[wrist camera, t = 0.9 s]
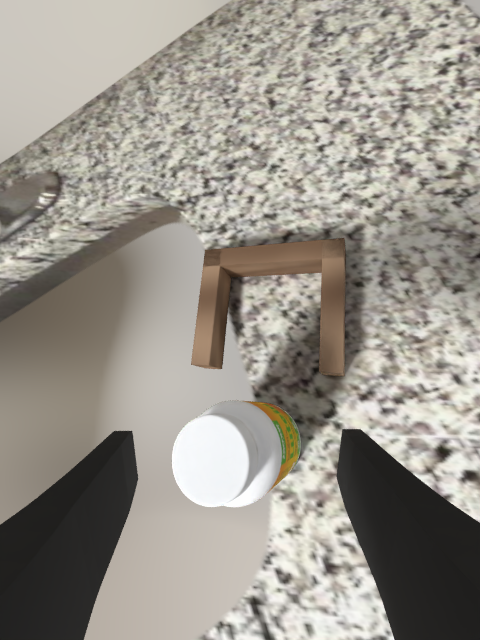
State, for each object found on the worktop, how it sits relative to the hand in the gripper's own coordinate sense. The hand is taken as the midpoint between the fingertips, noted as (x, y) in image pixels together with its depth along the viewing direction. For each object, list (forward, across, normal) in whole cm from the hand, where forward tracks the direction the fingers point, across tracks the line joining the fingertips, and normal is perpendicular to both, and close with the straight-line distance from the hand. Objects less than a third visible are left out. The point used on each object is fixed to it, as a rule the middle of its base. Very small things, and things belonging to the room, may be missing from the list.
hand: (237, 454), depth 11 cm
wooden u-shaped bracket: (+15, -3, 0) cm, 15 cm away
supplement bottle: (+11, -2, +8) cm, 13 cm away
